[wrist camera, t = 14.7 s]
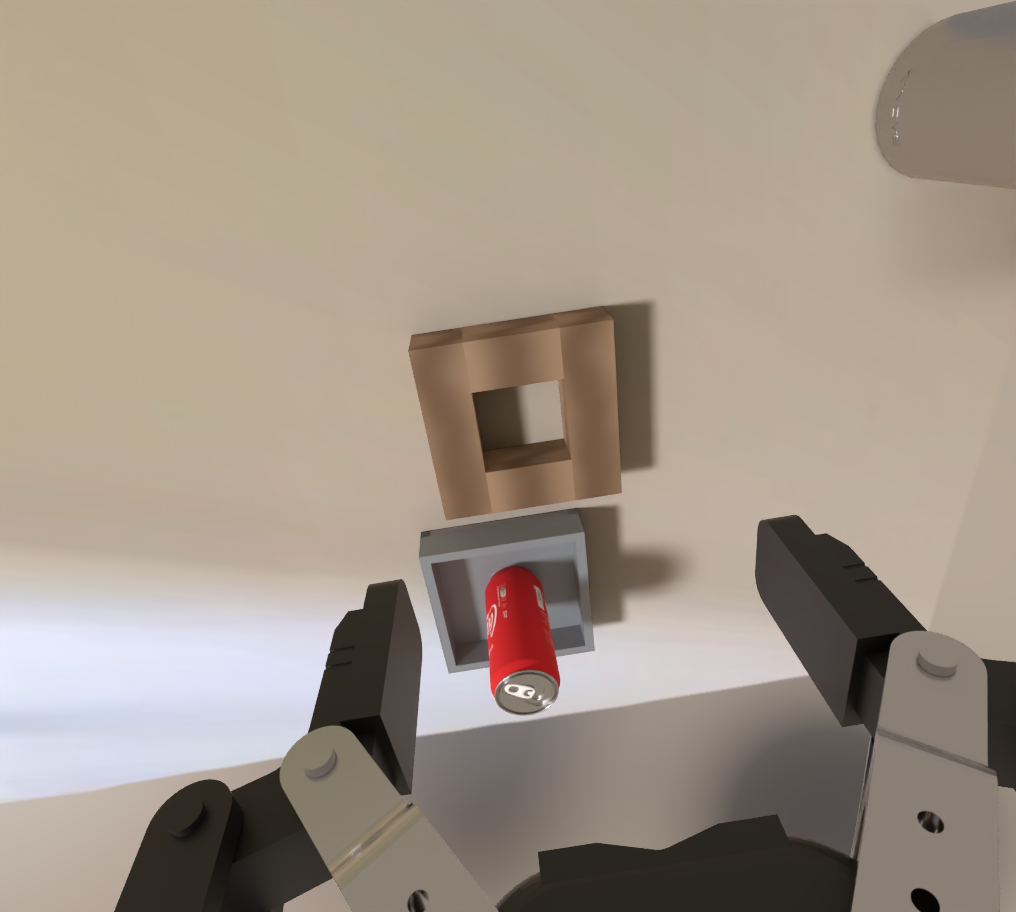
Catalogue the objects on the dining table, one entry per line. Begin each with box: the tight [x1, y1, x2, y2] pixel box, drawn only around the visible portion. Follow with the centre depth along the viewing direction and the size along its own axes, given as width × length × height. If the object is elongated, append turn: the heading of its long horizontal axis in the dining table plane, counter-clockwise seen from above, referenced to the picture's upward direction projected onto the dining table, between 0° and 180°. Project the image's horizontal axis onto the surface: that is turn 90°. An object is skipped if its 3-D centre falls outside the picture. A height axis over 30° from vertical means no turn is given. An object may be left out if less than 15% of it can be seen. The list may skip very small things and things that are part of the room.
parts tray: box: [419, 508, 595, 673], centre depth 54 cm, size 14×14×4 cm
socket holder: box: [408, 306, 622, 520], centre depth 45 cm, size 14×14×4 cm
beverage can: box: [485, 566, 560, 715], centre depth 49 cm, size 5×5×12 cm
